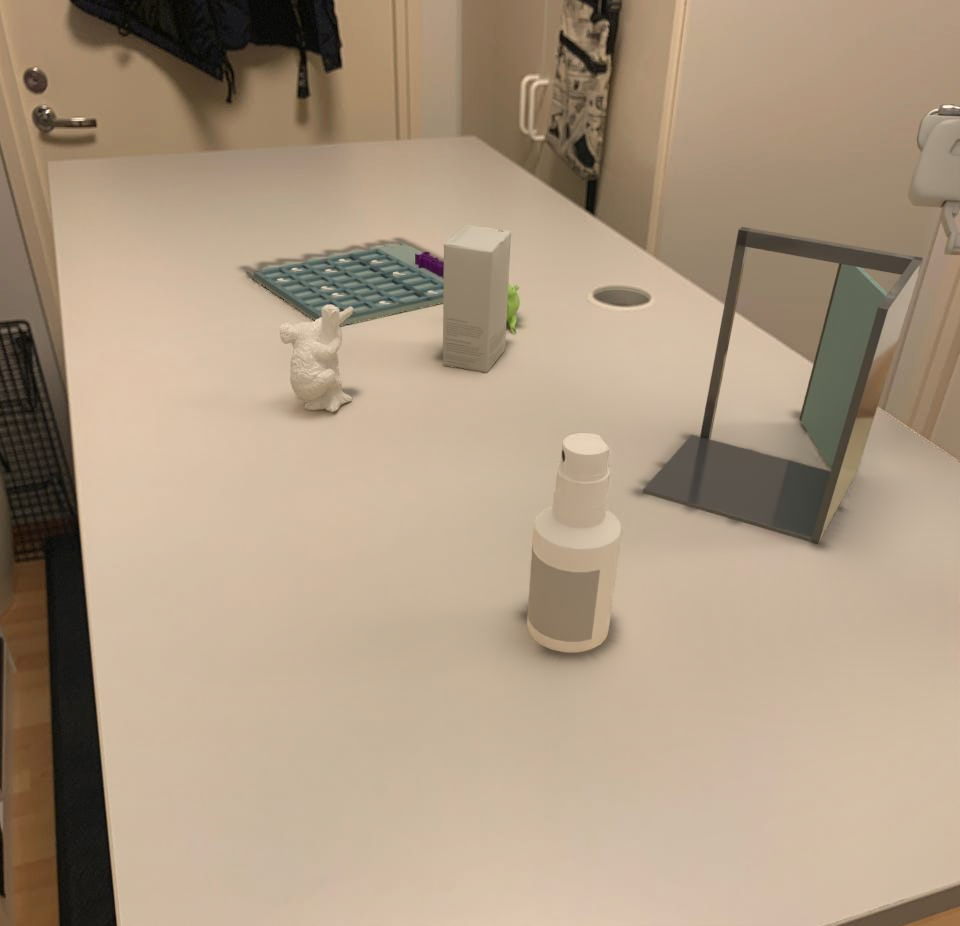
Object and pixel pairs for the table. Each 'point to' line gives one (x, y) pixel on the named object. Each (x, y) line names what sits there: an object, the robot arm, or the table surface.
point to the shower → (768, 479)
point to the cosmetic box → (475, 297)
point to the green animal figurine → (512, 306)
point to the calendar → (359, 282)
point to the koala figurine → (317, 359)
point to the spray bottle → (575, 552)
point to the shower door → (840, 356)
